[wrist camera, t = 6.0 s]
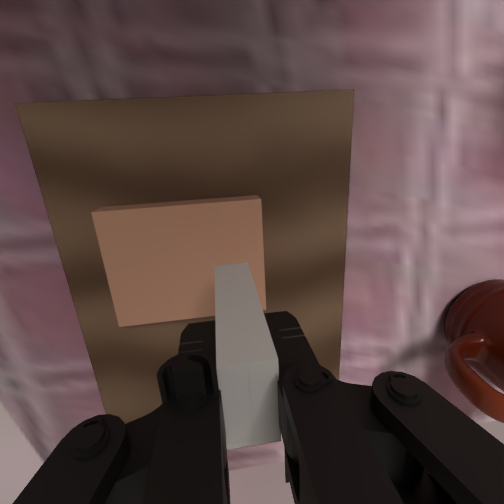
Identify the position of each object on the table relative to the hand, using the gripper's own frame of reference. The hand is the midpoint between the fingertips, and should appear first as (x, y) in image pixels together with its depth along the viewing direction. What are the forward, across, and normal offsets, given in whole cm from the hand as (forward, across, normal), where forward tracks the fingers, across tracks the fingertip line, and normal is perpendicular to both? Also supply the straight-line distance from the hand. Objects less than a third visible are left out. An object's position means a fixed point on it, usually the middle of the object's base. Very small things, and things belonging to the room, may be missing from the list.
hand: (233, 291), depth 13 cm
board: (+7, -1, -2) cm, 7 cm away
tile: (+5, +2, 0) cm, 5 cm away
